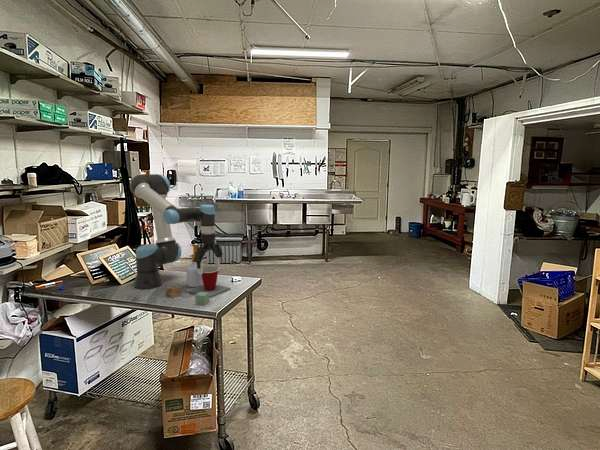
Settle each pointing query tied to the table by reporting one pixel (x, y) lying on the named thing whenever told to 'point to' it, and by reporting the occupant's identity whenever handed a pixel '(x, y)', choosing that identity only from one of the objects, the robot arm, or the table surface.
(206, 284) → the plastic cup
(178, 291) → the walnut block
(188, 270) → the soap bottle
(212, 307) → the table surface
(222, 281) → the table surface
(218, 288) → the charcoal mat
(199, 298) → the green block
